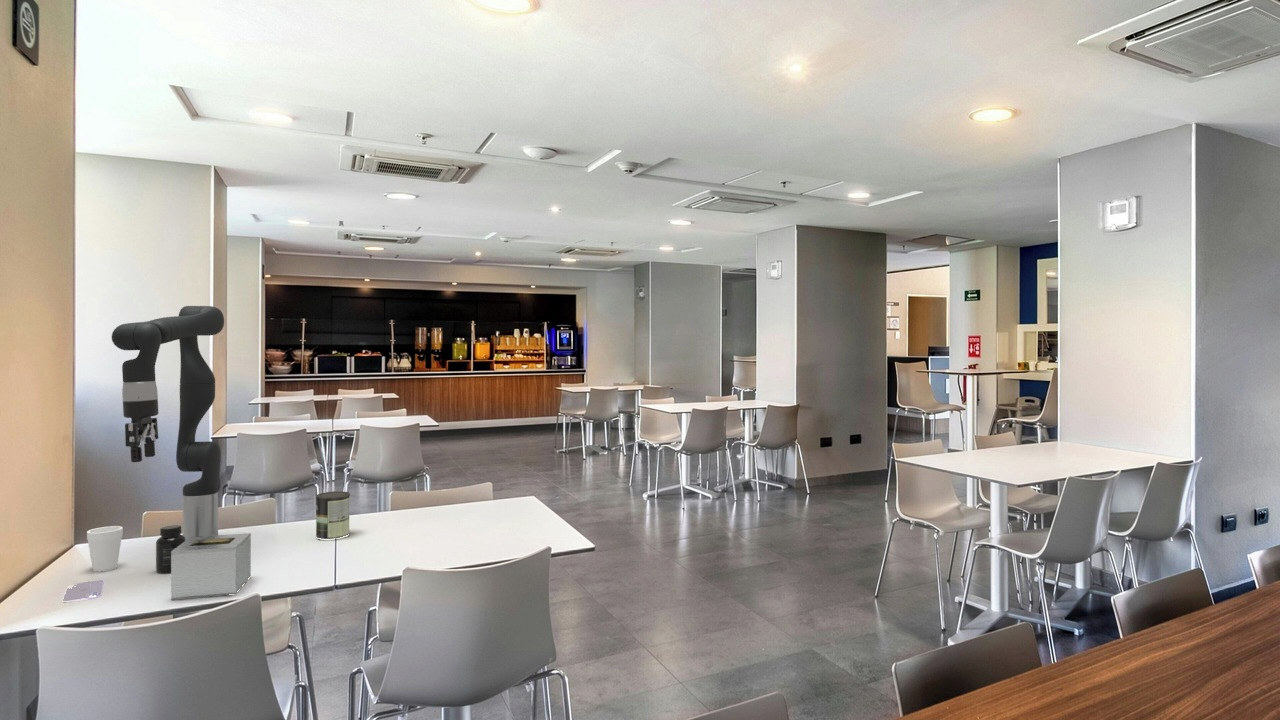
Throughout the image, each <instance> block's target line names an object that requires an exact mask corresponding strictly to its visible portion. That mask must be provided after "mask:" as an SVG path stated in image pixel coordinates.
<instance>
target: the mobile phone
mask: <svg viewBox="0 0 1280 720" xmlns="http://www.w3.org/2000/svg"><path fill="white" fill-rule="evenodd" d="M104 582H105V581H104V580H102V579H98V580H90V581H85V582H78V583H76V584H77V585H74V586H76V587H74V586H73V587H72V589H71V588H70V589H69V588H68V589H67V591H66V590H65V591H66V594H65V593H64V594H65V595H64V594H63V597H64V599H63V598H62V599H63V601H72V600H73V601H74V600H81V599H88V600H92V599H93V600H95V599H98V598H101V597H102V594H103V590H104V589H103V588H104V584H105V583H104Z"/></svg>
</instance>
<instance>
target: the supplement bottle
mask: <svg viewBox="0 0 1280 720" xmlns="http://www.w3.org/2000/svg"><path fill="white" fill-rule="evenodd" d="M159 532H160V533H159V536H160V537H159V538H157V539H156V542H155V571H156V572H157V573H158V574H171V551H172V550H174V549H175V548H177V547H178V546H179V545H181V544H182V543H184V542H185V537H184V536H183V534H182V525H167V526H163V527H160V530H159Z"/></svg>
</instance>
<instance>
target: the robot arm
mask: <svg viewBox="0 0 1280 720" xmlns="http://www.w3.org/2000/svg"><path fill="white" fill-rule="evenodd" d="M224 324H225V315H224V314H223V312H222V310H220V309H219V308H218V307H217V306H216V307H215V306H212V305H185V306H183V307H182V308H180V311H179V312H178V316H177V315H176V316H166V317H165V316H164V317H159V318H155V319H151V320H148V321H139V322H127V323H122V324H120V325H118V326H116V327H115V328H114V329H113V331H112V333H111V341H112V343H113V345H114V346H115V347H116V348H118V349H119V350H122V351H139V352H138V354H137V357H134V358H131V359H128V360H125V361H124V362H123V363H122V366H121V368H122V369H121V371H122V388H121V389H122V391H121V392H122V394H121V395H122V397H121V398H122V413H123V417H124V418H127V419H131V420H130V422H126V423H125V424H124V436H125V441H124V442H125V447H127V448H129V449H130V462H131V463H141V462H142V461H143V453H142V445H143V450H144V457H145V458H151V457H155V456H156V447H155V445H156V444H155V443H156V441H157V440H159V429H158V426H159V425H158V418H157V417H156V416H158V415H159V401H158V400H159V399H158V388H157V381H156V363H157V358H158V354H159V351H160V348H161V345H163V344H167V343H170V342H173V341H178V340H179V341H178V342H179V351H180V353H179V354H180V371H179V372H180V375H179V377H180V378H179V425H178V426H179V427H178V432H177V433H178V435H177V443H176V451H175V453H176V454H175V460H176V465H177V468H178V470H179V471H180V472H184V473H185V472H186V473H187V472H188V473H189V472H190V473H191V472H192V473H194V472H195V473H196V472H198V473H199V472H201V477H200V478H199V479H197V480H196V481H195V480H194V481H193V482H189V483H186V484H185V485H184V486H183V487H182V535H183V536H184V537H185V541H186V540H188V539H189V538H190V537H195V536H211V535H219V485H220V479H221V478H220V477H221V476H220V473H221V472H220V471H221V462H222V461H221V457H222V453H221V447H220V445H219V443H218V442H217V441H196V434H197V429H198V426H199V424H200V423H201V421H202V420H203V418H204V416H206V414H207V413H208V411H209V410H210V408H211V407H212V406H213V404H214V402H215V399H216V398H215V397H216V377H215V375H214V372H213V370H212V369H211V367H210V366H209V365H208V363H207V362H206V360H205V359H204V357H203V356H202V354H201V351H200V348H199V341H198V337H199V336H202V337H203V336H214V335H215V336H216V335H217V334H219V333H221V332H222V331H223V328H224V326H225V325H224ZM143 442H144V443H143Z"/></svg>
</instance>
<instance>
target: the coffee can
mask: <svg viewBox="0 0 1280 720" xmlns="http://www.w3.org/2000/svg"><path fill="white" fill-rule="evenodd" d="M350 496H351V493H350V492H348V491H343V490H342V491H341V490H340V491H339V490H337V491H328V492H327V491H326V492H322V493H318V494H316V495H315V498H316V499H315V502H316V504H315V507H316V509H315V511H316V514H315V517H316V518H315V522H316V523H315V527H316V528H315V531H316V532H315V538H316V537H317V538H321V539H334V538H340V537H343V536H346V535H348V534H349V535H350Z"/></svg>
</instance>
